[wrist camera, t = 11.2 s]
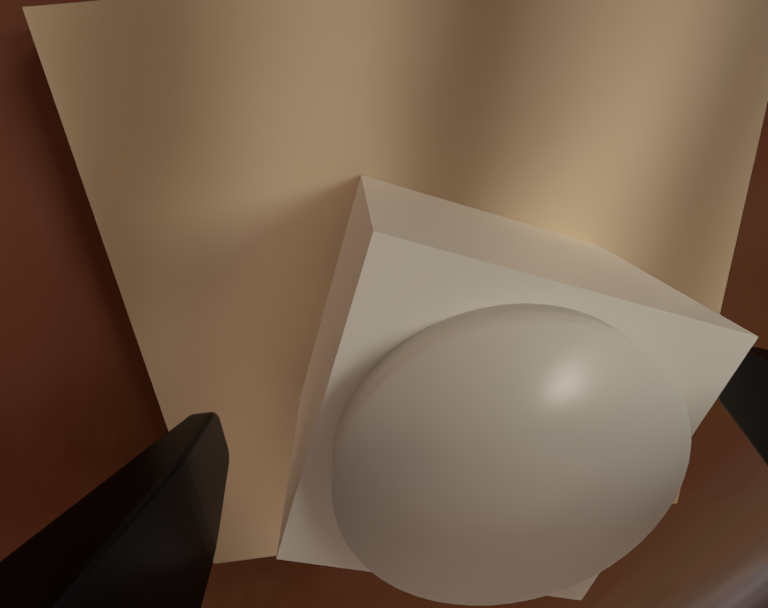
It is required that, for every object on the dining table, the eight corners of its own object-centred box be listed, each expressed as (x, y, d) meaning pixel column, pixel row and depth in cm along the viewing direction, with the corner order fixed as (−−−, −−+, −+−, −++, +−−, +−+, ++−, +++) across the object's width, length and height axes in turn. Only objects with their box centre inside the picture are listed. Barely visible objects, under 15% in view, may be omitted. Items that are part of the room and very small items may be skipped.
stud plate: (759, -46, 9) (1022, -140, 6) (656, 478, 15) (756, 599, 11) (55, 16, 9) (-146, -40, 5) (222, 534, 15) (181, 679, 11)
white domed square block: (361, 175, 10) (376, 246, 5) (597, 245, 11) (797, 358, 6) (300, 396, 12) (270, 595, 7) (504, 437, 13) (597, 634, 8)
